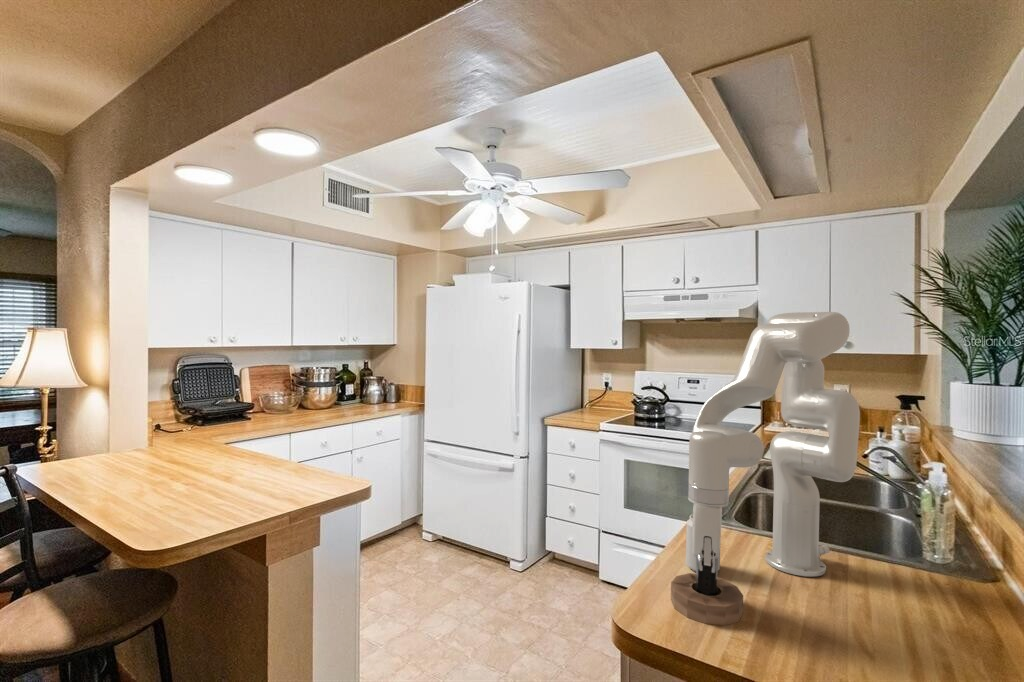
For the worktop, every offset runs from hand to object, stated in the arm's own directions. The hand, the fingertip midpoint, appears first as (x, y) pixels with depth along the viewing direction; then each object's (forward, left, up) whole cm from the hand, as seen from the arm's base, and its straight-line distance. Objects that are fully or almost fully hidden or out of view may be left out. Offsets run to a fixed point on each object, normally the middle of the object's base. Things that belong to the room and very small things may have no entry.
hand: (706, 584), depth 100 cm
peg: (0, 0, -2) cm, 2 cm away
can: (-12, -13, -4) cm, 18 cm away
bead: (0, 0, -4) cm, 4 cm away
